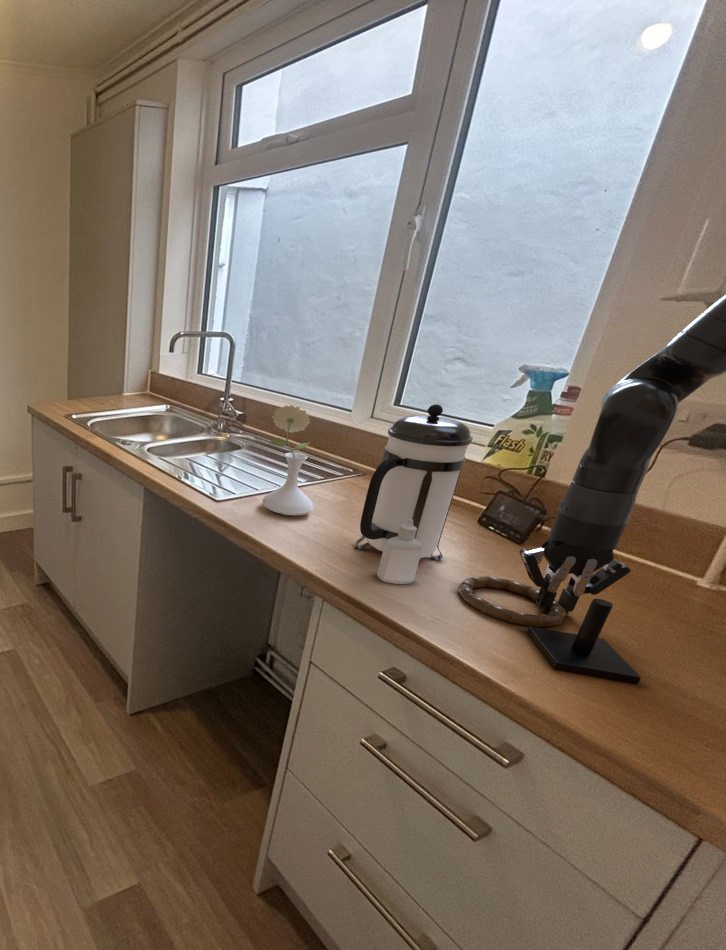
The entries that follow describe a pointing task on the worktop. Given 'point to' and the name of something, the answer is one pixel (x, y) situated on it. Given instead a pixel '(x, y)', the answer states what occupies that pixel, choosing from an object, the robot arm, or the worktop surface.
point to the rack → (584, 648)
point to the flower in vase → (290, 465)
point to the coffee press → (415, 480)
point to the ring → (542, 620)
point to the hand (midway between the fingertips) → (552, 610)
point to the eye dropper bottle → (401, 556)
